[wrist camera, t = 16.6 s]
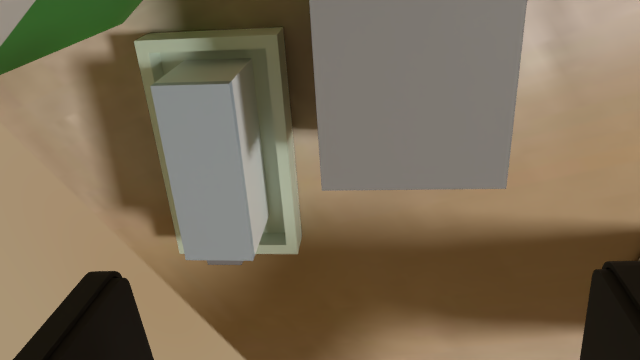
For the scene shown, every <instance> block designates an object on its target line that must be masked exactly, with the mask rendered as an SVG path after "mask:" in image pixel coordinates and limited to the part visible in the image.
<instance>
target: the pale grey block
mask: <svg viewBox="0 0 640 360" xmlns="http://www.w3.org/2000/svg"><path fill="white" fill-rule="evenodd" d="M150 87H151V92H152V97H153V102H154V107H155V111H156V116H157V121H158V126H159V131H160V136H161V141H162V146H163V151H164V155H165V160H166V165H167V170H168V175H169V180H170V185H171V190H172V195H173V200H174V204H175V209H176V214H177V219H178V224H179V229H180V234H181V239H182V244H183V249H184V253H185V258H186V260H207V263H208V265H242V263H243V261H253V259H254V257H255V254H256V251H257V248H258V245H259V242H260V240H261V237H262V234H263V231H264V228H265V225H266V223H267V220H268V217H269V208H268V199H267V190H266V181H265V172H264V163H263V154H262V145H261V137H260V128H259V119H258V110H257V101H256V92H255V83H254V74H253V65H252V58H239V59H208V60H184V61H183V62H182V63H180V64H179V65H178V66H176V67H175V68H174V69H172V70H171V71H170V72H168V73H167V74H166V75H164V76H163V77H162V78H160V79H159V80H158V81H156V82H155V83H154V84H152V85H151V86H150Z"/></svg>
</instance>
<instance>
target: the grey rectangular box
mask: <svg viewBox="0 0 640 360" xmlns="http://www.w3.org/2000/svg"><path fill="white" fill-rule="evenodd" d="M309 5H310V20H311V35H312V50H313V65H314V80H315V95H316V110H317V125H318V140H319V155H320V170H321V185H322V190H420V189H506V186H507V177H508V168H509V159H510V150H511V141H512V132H513V123H514V114H515V105H516V96H517V87H518V78H519V69H520V60H521V51H522V42H523V32H524V23H525V14H526V5H527V0H309Z"/></svg>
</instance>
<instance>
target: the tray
mask: <svg viewBox="0 0 640 360" xmlns="http://www.w3.org/2000/svg"><path fill="white" fill-rule="evenodd" d="M134 44H135V49H136V54H137V58H138V63H139V68H140V72H141V77H142V81H143V86H144V91H145V95H146V100H147V104H148V109H149V114H150V118H151V123H152V128H153V132H154V137H155V141H156V146H157V151H158V155H159V160H160V164H161V169H162V174H163V178H164V183H165V188H166V192H167V197H168V201H169V206H170V211H171V215H172V220H173V224H174V229H175V234H176V238H177V243H178V248H179V252H180V254H185V253H184V249H183V244H182V239H181V234H180V229H179V224H178V219H177V214H176V209H175V204H174V200H173V195H172V190H171V185H170V180H169V175H168V170H167V165H166V160H165V155H164V151H163V146H162V141H161V136H160V131H159V126H158V121H157V116H156V111H155V107H154V102H153V97H152V92H151V87H150V86H151V85H152V84H154V83H155V82H156V81H158V80H159V79H160V78H162V77H163V76H164V75H166V74H167V73H168V72H170V71H171V70H172V69H174V68H175V67H176V66H178V65H179V64H180V63H182V62H183V61H184V60H208V59H239V58H252V65H253V74H254V83H255V92H256V101H257V110H258V119H259V128H260V137H261V145H262V154H263V163H264V172H265V181H266V190H267V199H268V208H269V217H268V220H267V223H266V225H265V228H264V231H263V234H262V237H261V240H260V242H259V245H258V248H257V251H256V254H298V251H299V247H300V243H301V238H302V230H301V219H300V208H299V197H298V186H297V175H296V164H295V152H294V141H293V130H292V119H291V108H290V97H289V85H288V74H287V63H286V52H285V41H284V30H283V27H274V28H251V29H229V30H207V31H185V32H163V33H148V34H146V35H144V36H142V37H140V38H139V39H137V40H135V41H134Z"/></svg>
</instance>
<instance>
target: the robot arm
mask: <svg viewBox="0 0 640 360" xmlns="http://www.w3.org/2000/svg"><path fill="white" fill-rule="evenodd" d="M13 360H154V359H153V356H152V352H151V349H150V346H149V343H148V340H147V337H146V334H145V330H144V327H143V324H142V321H141V318H140V315H139V312H138V308H137V305H136V302H135V299H134V296H133V293H132V290H131V286H130V283H129V281H128V280H127V279H126V278H122V276H121V274H120V273H118V272H116V271H98V272H89V273H87V274H86V275H85V276H84V277H83V279H82V280H81V281H80V282H79V283H78V284H77V286H76V287H75V288H74V289H73V290H72V291H71V293H70V294H69V295H68V296H67V297H66V299H65V300H64V301H63V302H62V303H61V304H60V306H59V307H58V308H57V309H56V310H55V311H54V312H53V314H52V315H51V316H50V317H49V318H48V319H47V321H46V322H45V323H44V324H43V325H42V326H41V328H40V329H39V330H38V331H37V332H36V334H35V335H34V336H33V337H32V338H31V339H30V341H29V342H28V343H27V344H26V345H25V347H23V349H22V350H21V351H20V352H19V353H18V354H17V356H16V357H15V358H14V359H13ZM580 360H640V258H639V260H638V261H609V262H605V263H604V265H603V267H602V269H598V270H594V272H593V275H592V281H591V287H590V294H589V301H588V308H587V315H586V321H585V328H584V335H583V342H582V349H581V356H580Z"/></svg>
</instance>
